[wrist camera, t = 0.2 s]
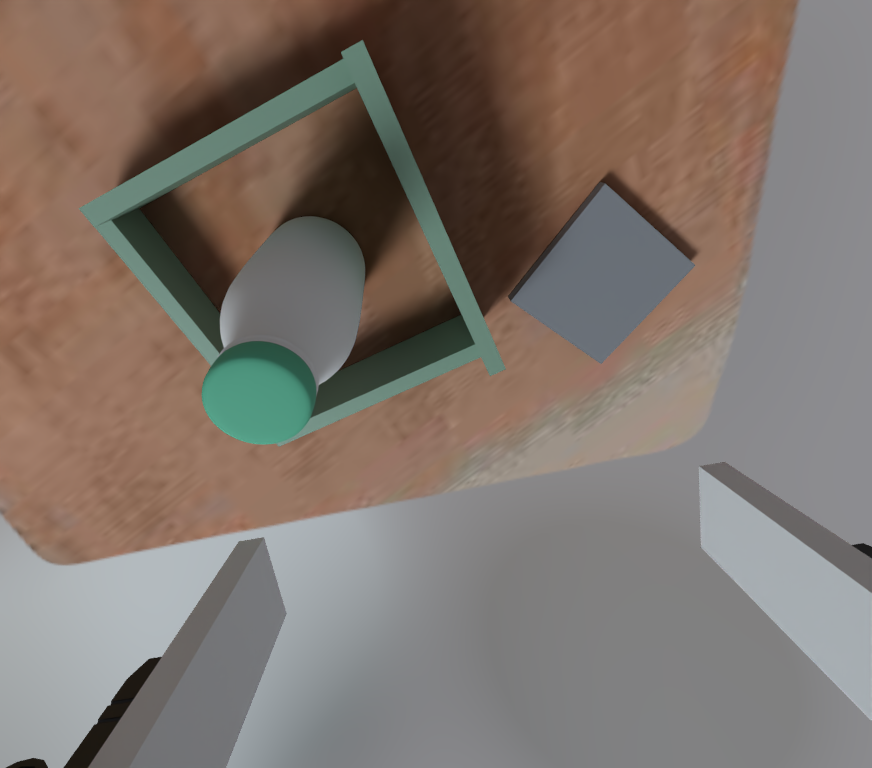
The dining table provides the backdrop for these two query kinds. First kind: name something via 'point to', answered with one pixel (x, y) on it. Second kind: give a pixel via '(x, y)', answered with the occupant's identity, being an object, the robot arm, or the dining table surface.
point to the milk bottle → (285, 330)
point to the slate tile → (601, 275)
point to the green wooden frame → (201, 319)
